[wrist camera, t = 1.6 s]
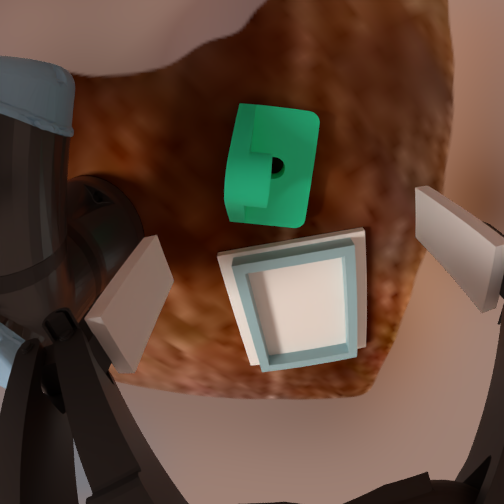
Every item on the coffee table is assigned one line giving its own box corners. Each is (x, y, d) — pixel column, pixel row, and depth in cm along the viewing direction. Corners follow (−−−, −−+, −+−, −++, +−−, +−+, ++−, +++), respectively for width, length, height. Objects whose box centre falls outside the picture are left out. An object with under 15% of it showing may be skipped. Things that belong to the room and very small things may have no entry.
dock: (251, 360, 44) (250, 375, 41) (217, 252, 36) (214, 265, 33) (364, 342, 42) (369, 356, 39) (362, 227, 34) (370, 238, 31)
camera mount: (300, 220, 34) (314, 265, 25) (232, 212, 34) (220, 256, 25) (316, 112, 29) (340, 115, 19) (241, 103, 28) (231, 101, 19)
